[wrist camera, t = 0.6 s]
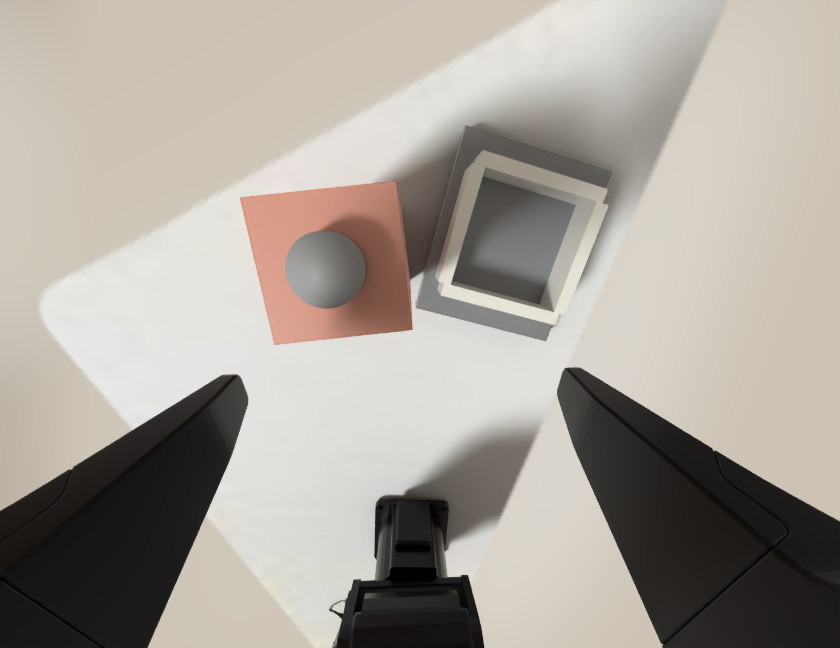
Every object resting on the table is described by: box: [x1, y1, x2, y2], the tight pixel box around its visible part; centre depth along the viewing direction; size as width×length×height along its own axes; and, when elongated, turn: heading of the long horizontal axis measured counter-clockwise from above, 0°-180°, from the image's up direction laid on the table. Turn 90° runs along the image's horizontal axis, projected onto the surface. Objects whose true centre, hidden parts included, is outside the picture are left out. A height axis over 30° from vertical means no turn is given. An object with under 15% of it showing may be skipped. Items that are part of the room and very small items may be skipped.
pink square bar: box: [240, 181, 412, 345], centre depth 17 cm, size 5×5×14 cm
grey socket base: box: [416, 125, 611, 341], centre depth 22 cm, size 12×10×4 cm
